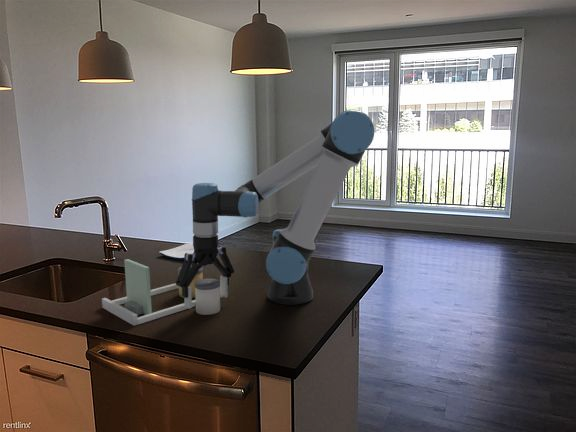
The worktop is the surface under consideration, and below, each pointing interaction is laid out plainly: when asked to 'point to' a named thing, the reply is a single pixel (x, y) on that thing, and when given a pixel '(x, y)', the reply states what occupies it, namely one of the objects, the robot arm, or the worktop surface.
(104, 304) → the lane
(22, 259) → the worktop surface
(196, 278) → the amber jar
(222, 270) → the robot arm
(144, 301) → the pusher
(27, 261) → the worktop surface
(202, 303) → the cream jar
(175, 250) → the plate
